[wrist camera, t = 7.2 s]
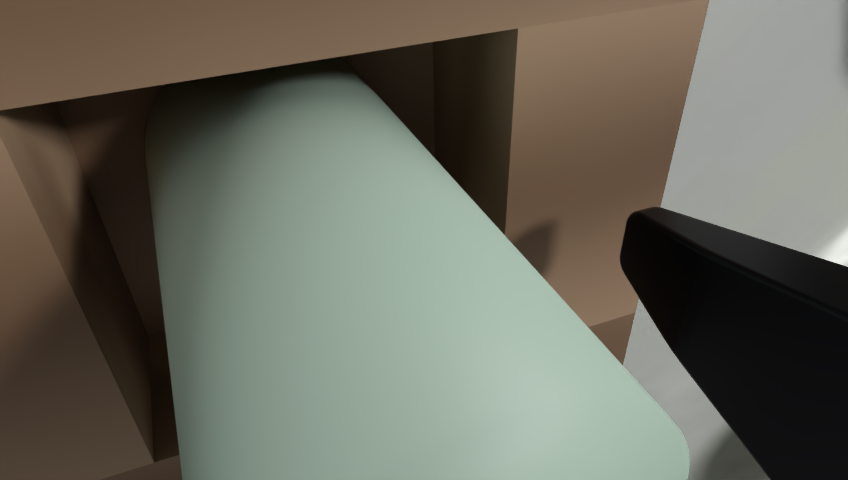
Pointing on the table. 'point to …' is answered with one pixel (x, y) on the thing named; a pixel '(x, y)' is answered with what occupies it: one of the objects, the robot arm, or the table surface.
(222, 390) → the sage peg
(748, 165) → the table surface
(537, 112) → the walnut socket
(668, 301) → the robot arm
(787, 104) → the table surface
